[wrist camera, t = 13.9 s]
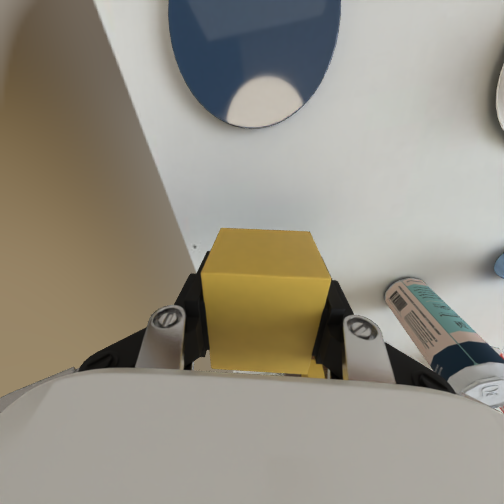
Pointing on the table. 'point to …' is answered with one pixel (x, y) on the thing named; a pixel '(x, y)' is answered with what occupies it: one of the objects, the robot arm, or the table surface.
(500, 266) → the spotlight
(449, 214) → the table surface
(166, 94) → the table surface
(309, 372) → the butter
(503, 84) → the pudding
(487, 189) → the table surface
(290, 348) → the butter pat
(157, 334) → the robot arm
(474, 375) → the supplement bottle
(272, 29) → the plate
